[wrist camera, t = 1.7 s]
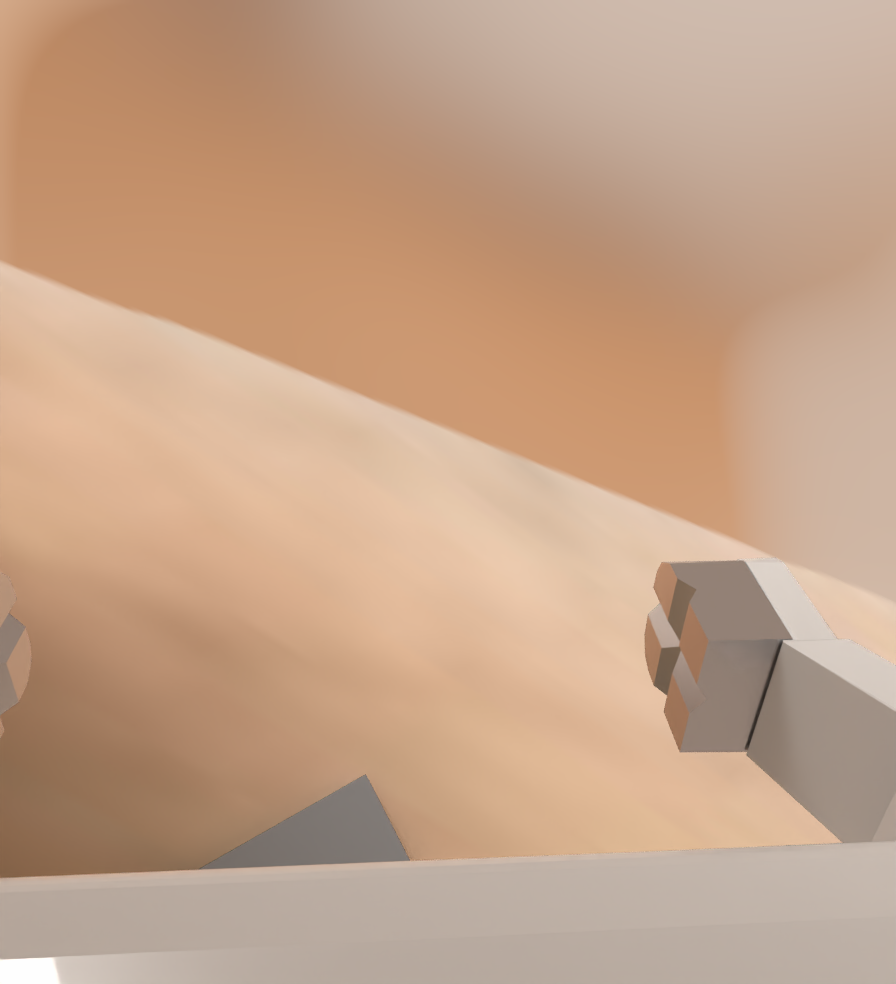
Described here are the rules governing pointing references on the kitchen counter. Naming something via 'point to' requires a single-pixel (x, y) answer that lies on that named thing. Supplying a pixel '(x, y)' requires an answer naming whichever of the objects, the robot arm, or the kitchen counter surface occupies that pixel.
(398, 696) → the kitchen counter surface
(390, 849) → the slate tile
